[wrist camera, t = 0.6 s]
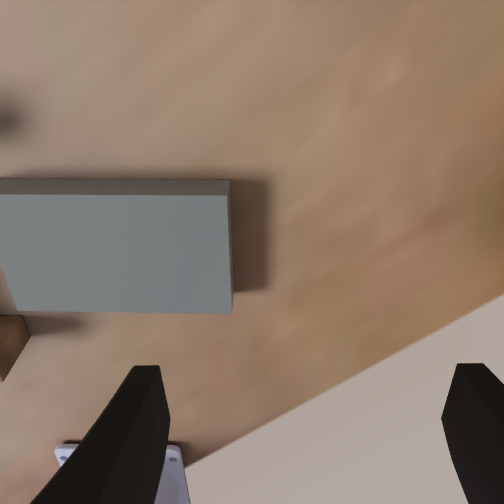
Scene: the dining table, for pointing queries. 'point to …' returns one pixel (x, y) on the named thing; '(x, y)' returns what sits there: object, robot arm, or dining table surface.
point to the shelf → (11, 342)
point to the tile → (117, 245)
